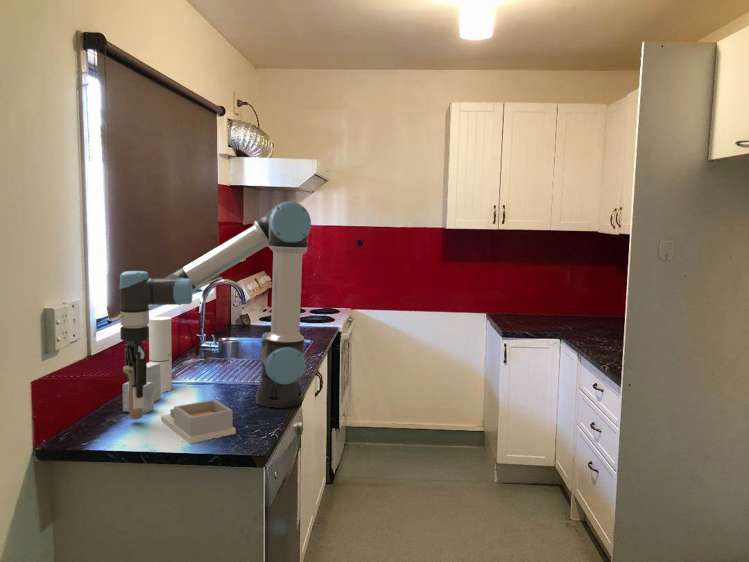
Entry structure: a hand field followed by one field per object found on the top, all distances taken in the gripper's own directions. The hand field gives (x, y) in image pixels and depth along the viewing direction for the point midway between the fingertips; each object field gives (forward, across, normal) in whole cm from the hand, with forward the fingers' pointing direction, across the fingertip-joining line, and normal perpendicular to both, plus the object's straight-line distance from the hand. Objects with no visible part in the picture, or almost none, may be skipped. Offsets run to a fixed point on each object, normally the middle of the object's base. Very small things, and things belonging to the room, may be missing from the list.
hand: (136, 405), depth 168 cm
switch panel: (+5, +13, +13) cm, 19 cm away
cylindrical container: (+5, -29, +17) cm, 34 cm away
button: (+4, +17, +13) cm, 22 cm away
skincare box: (+5, -19, +10) cm, 22 cm away
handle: (+4, 0, 0) cm, 4 cm away
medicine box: (+5, -11, +4) cm, 13 cm away
